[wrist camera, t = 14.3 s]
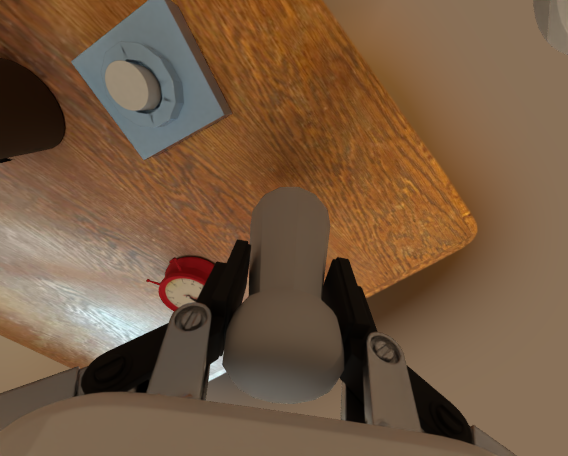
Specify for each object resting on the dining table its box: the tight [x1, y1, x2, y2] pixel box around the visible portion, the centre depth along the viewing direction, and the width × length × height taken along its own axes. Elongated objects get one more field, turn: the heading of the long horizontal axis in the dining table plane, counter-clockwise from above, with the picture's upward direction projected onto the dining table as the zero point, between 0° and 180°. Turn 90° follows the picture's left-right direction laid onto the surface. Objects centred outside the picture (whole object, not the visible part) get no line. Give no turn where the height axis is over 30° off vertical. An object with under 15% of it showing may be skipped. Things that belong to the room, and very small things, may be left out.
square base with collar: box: [71, 0, 232, 160], centre depth 22 cm, size 11×10×5 cm
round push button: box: [105, 60, 161, 111], centre depth 19 cm, size 4×4×2 cm
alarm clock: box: [147, 257, 214, 311], centre depth 37 cm, size 10×6×15 cm
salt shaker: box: [222, 187, 344, 404], centre depth 13 cm, size 6×6×13 cm
